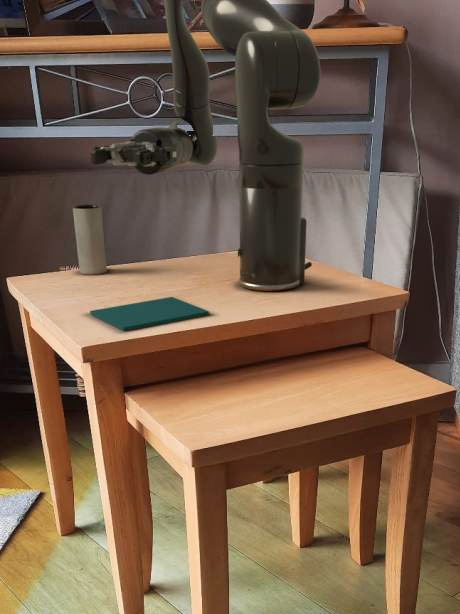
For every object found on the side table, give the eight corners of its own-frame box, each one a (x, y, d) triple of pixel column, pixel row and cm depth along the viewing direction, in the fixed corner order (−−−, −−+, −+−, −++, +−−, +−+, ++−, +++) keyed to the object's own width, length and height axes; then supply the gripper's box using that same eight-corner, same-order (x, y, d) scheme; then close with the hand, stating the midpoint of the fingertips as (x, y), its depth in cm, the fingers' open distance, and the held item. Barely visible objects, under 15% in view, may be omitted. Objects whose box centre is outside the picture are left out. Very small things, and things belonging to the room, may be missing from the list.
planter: (109, 269, 127) (103, 204, 122) (103, 274, 123) (96, 208, 118) (83, 268, 128) (77, 204, 123) (76, 274, 124) (69, 208, 119)
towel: (172, 300, 108) (171, 296, 108) (209, 314, 101) (209, 311, 101) (90, 314, 102) (89, 310, 102) (123, 331, 95) (123, 327, 95)
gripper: (121, 127, 140) (76, 133, 127) (191, 128, 135) (152, 134, 122) (124, 171, 144) (81, 180, 131) (192, 173, 139) (154, 183, 126)
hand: (115, 158), depth 126 cm, fingers open, 8 cm apart
